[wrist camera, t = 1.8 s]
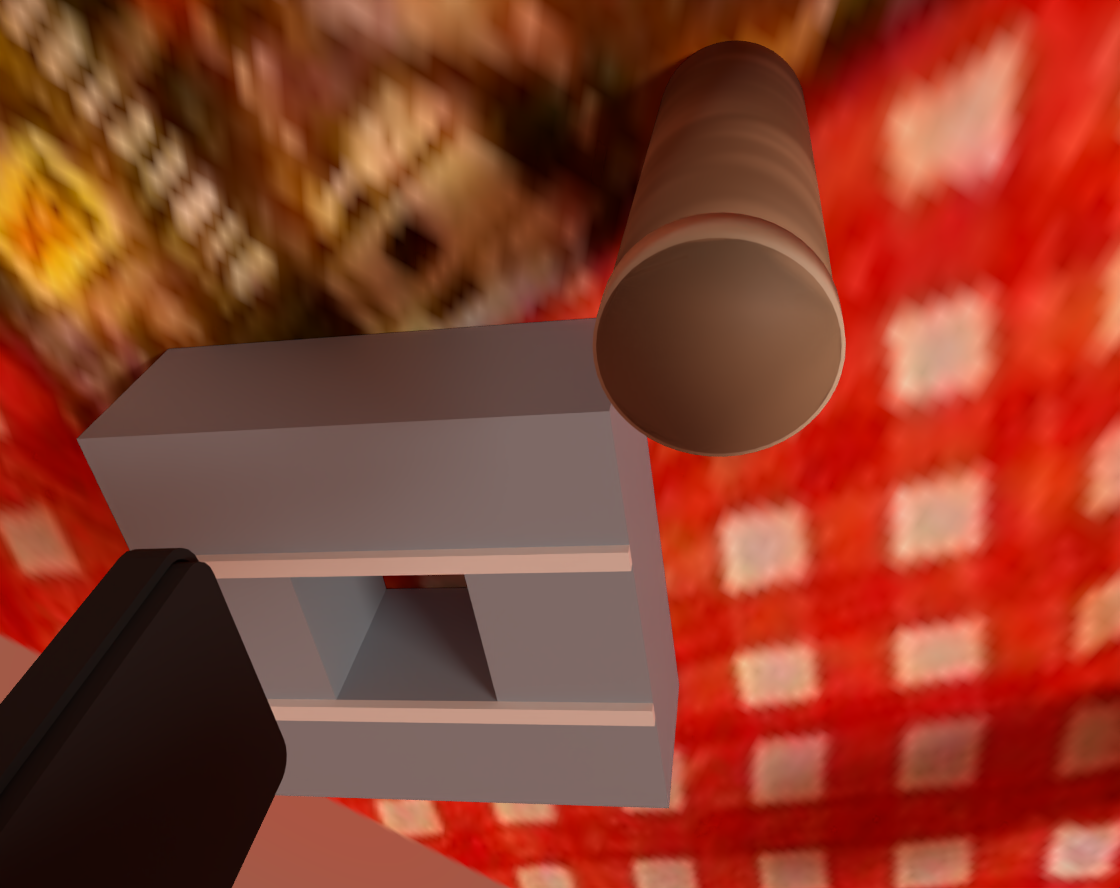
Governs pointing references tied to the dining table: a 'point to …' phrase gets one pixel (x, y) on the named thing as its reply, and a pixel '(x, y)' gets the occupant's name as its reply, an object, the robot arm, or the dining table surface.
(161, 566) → the robot arm
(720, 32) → the dining table surface
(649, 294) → the walnut peg
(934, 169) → the dining table surface
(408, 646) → the socket block
